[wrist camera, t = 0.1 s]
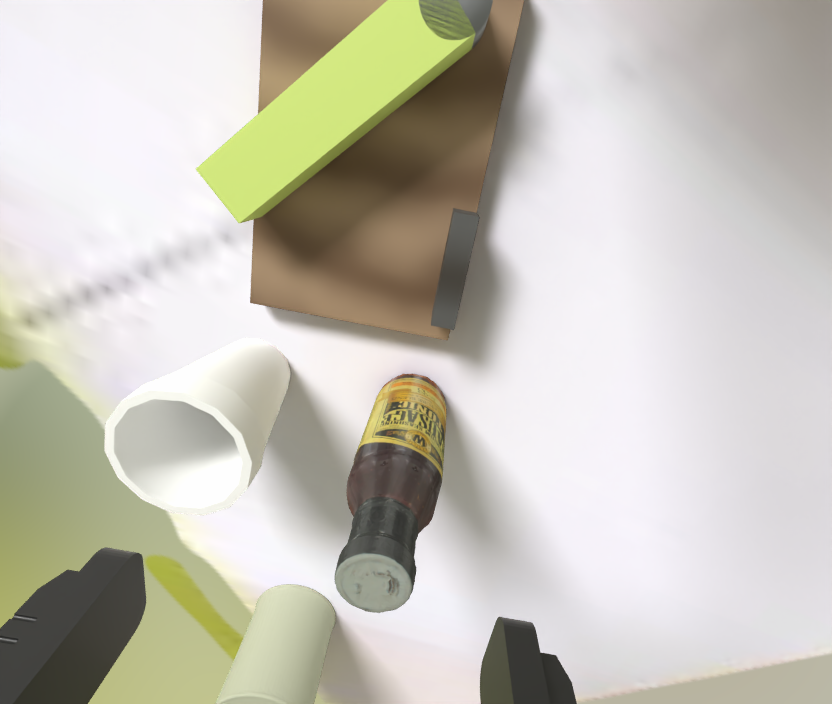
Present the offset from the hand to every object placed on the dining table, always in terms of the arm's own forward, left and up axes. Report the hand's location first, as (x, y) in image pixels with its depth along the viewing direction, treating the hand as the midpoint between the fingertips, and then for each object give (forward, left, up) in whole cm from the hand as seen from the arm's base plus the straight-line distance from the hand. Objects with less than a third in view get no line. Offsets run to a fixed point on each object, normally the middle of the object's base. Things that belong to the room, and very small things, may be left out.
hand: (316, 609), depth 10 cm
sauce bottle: (+10, +2, -29) cm, 31 cm away
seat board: (-9, -4, -29) cm, 31 cm away
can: (+40, -6, -29) cm, 50 cm away
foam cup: (+10, -12, -29) cm, 33 cm away
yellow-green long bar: (-12, -6, -27) cm, 30 cm away
